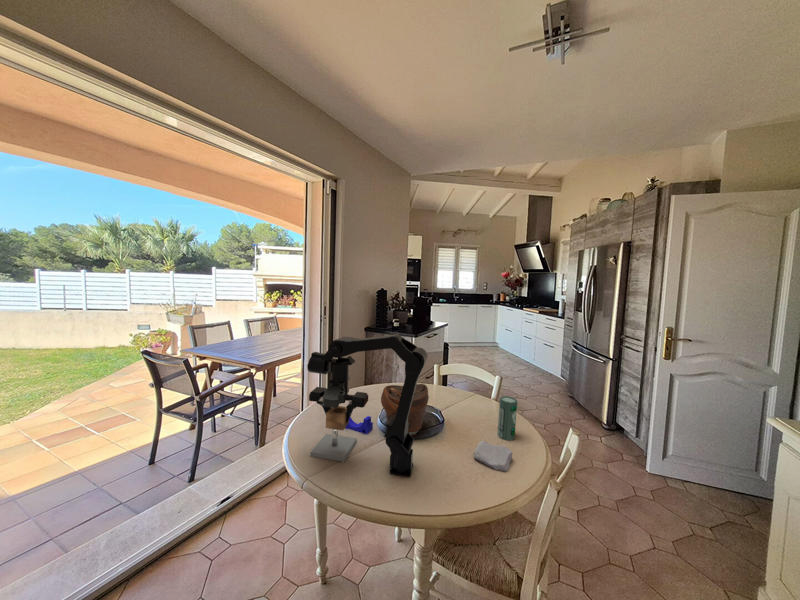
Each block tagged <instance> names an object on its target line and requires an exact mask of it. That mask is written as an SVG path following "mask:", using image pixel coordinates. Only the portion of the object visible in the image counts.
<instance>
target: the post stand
mask: <svg viewBox="0 0 800 600" xmlns="http://www.w3.org/2000/svg"><path fill="white" fill-rule="evenodd" d="M357 441H358V440H357V438H356V437H351V436H350V437H349V436H345V435H339V430H337V429H331V433H330V434H329V433H325V434H324V435H323V437H322V438H320V440H319V442H318V443H316V445H315V447H313V449H312V450H311V451H310V457H312V458H318V459H319V458H320V459H324V460H330V461H337V462H341V463H342V462H343V463H344V462H345V461H346V460H347V458H348V456H350V453H351V452H352V450H353V449H354V447H355V446H356V443H358V442H357Z"/></svg>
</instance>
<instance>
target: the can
mask: <svg viewBox="0 0 800 600" xmlns="http://www.w3.org/2000/svg"><path fill="white" fill-rule="evenodd" d="M498 406H499V407H498V419H497V420H498V421H497V423H498V424H497V436H498V438H500V439H501V440H504V441H514V439H515V438H516V436H515V435H516V423H517V411H518V400H517V399H516V398H515V397H512V396H508V395H505V396H500V398H499V405H498Z"/></svg>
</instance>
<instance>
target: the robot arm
mask: <svg viewBox="0 0 800 600" xmlns="http://www.w3.org/2000/svg"><path fill="white" fill-rule="evenodd" d="M389 349H391V350H392V351H393V352H394V353H395V354H396V355H397V356H398V357H399V359H401V361H402V362H404V363H405V364H404V382H403V385H402V386H403V389H402V393H401V397H400V401H399V405H398V409H397V413H396V417H395V418H394V417H392V418H391V419H390V421H389V423H388V422H387V425H386V433H385V434H384V436H383V437H384V438H385V445H386V446H387V447H388V449H389V452H390V455H389V469H390V471H389V474H390V475H396V476H401V477H402V476H403V477H408V478H410V477H412V471H413V467H414V463H413V456H414V455H413V454H414V449H413V445H414V442H415V438H414V436H411V435H410V434H409V433H408V416H409V412H410V408H411V404H412V400H413V397H414V393H415V389H416V385H417V384H418V381H419V377H420V376H421V373H422V371H423V370H424V367H425V365H426V364H427V360H428V353H427V351H426V350H425V348H422V347H420V346H419V347H418V346H417V345H415V344H414V343H413V342H412V341H409V340H408V339H406V338H404V337H403V336H401V335H400V334H398V333H394V334H391V335H382V336H381V335H380V336H372V337H362V338H358V337H353V336H342V337H338V338H336V339H334V340H332V341H331V342H330V344H329V346H328V350H327V351H326V352H325V353H323V352H318V351H314V352H312V353H311V354H310V355H311V356H310V358H309V359H308V363H307V365H306V366H307V371H308V372H309V373H313V374H319V375H328V373H330V380H329V381H328V387H327V388H326V387H321V386H316V387H315V388H314V389H313V390H311V391H310V392H309V394H308V401H310V402H315V403H316V404H317V405H320V406H321V407H322V409H323V411H324V414H325V415H326V413H327V412H328V411H329V409H330V408H331V407H333V408H336V407H338V406H340V405H341V404H345V403H346V401H348V404H347V405H346V407H347V415H346V423H348V421H349V419H350V417H352V414H353V411H354V410H355V409H357V408H364V407H365V406H366V405H367V403H368V401H369V394H368V392H365V391H364V392H363V391H361V392H360V391H356V392H355V394H350V393H349V391H350V388H349V381H350V376H349V374H350V373H349V371H350V366H352V365H353V364H355V363H356V360H355V359H354V358H353V357H352V354H355V353H360V352H370V351H379V350H389ZM346 356H347V357H346Z"/></svg>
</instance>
